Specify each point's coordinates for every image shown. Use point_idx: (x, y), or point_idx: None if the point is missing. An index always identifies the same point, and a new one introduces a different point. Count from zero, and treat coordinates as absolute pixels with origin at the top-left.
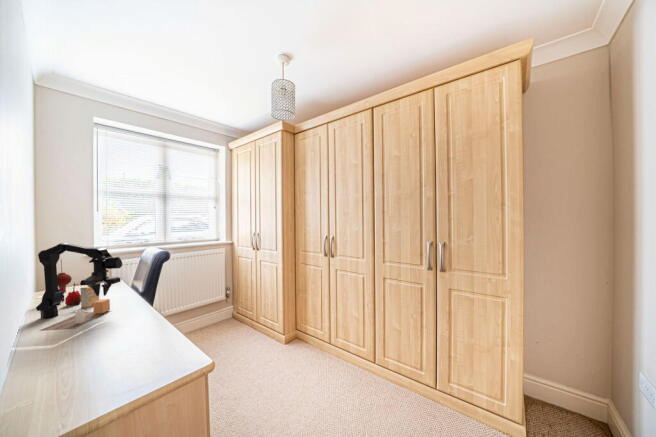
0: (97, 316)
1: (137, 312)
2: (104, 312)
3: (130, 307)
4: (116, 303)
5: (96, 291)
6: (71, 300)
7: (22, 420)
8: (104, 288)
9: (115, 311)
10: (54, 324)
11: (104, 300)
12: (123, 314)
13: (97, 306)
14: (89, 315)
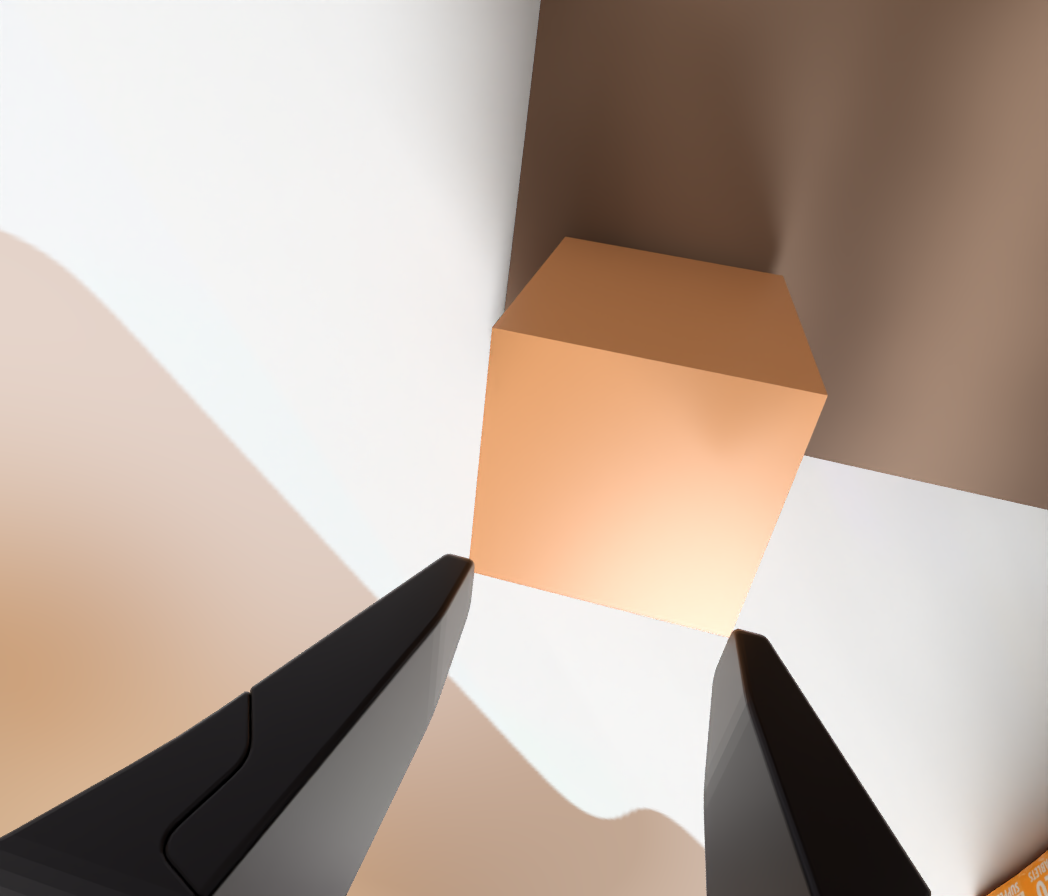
0: (605, 69)
1: (25, 205)
2: None
3: (341, 524)
4: (687, 791)
5: (779, 826)
6: None
7: None
8: (148, 803)
9: (473, 412)
10: None
11: (527, 473)
12: (199, 167)
13: (677, 310)
14: (854, 225)
